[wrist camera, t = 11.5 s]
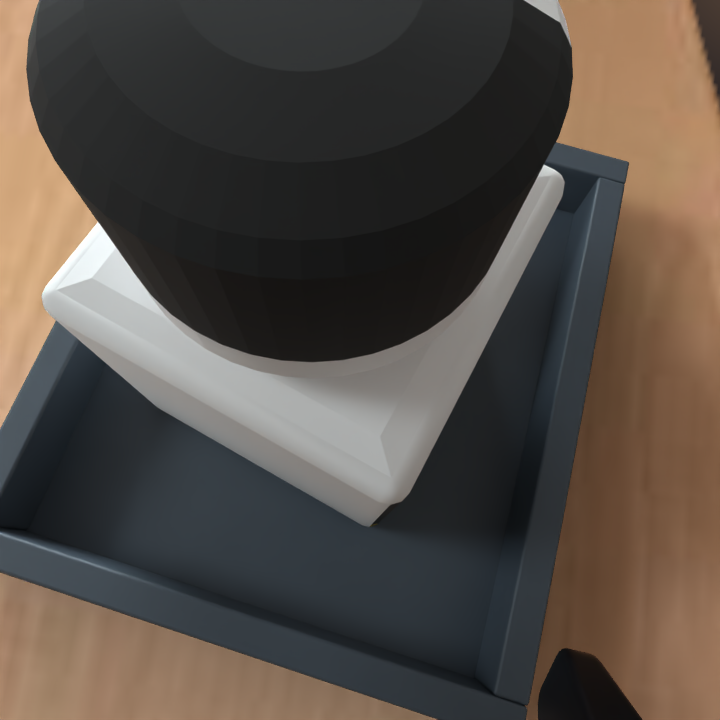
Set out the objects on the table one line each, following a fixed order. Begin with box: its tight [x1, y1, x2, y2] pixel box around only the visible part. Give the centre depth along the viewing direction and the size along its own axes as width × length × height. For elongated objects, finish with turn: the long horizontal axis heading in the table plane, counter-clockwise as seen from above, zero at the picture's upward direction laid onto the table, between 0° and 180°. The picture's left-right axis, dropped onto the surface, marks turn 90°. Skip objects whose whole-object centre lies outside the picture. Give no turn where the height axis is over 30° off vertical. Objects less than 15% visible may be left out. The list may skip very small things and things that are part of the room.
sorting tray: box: [0, 142, 629, 720], centre depth 17 cm, size 16×14×2 cm
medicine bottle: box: [26, 0, 573, 527], centre depth 12 cm, size 7×7×12 cm
